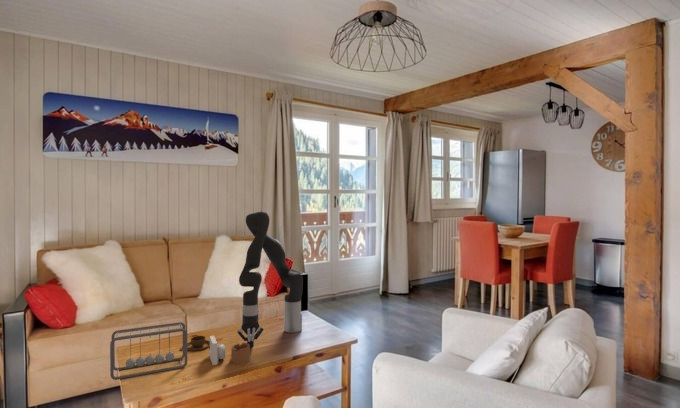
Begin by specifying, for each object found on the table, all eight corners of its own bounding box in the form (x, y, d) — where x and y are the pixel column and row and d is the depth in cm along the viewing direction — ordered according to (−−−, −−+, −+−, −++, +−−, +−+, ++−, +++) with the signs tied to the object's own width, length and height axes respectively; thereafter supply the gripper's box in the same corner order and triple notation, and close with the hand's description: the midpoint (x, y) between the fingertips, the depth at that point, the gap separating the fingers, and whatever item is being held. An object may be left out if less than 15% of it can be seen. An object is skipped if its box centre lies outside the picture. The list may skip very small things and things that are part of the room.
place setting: (217, 341, 209) (217, 330, 209) (215, 357, 190) (215, 345, 190) (181, 344, 205) (181, 333, 205) (176, 360, 186) (176, 348, 185)
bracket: (248, 364, 182) (248, 349, 182) (229, 364, 181) (229, 349, 181) (253, 348, 200) (253, 335, 200) (237, 348, 199) (237, 335, 199)
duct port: (222, 354, 192) (222, 334, 191) (225, 363, 183) (225, 341, 182) (209, 356, 189) (209, 336, 189) (212, 365, 180) (212, 343, 180)
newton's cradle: (185, 358, 187) (185, 321, 187) (187, 367, 178) (187, 328, 177) (111, 370, 174) (111, 330, 173) (110, 381, 164) (110, 339, 164)
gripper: (261, 309, 198) (261, 343, 199) (235, 312, 192) (235, 347, 193) (265, 313, 191) (265, 349, 192) (238, 317, 185) (238, 353, 186)
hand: (250, 348), depth 192 cm, fingers closed
